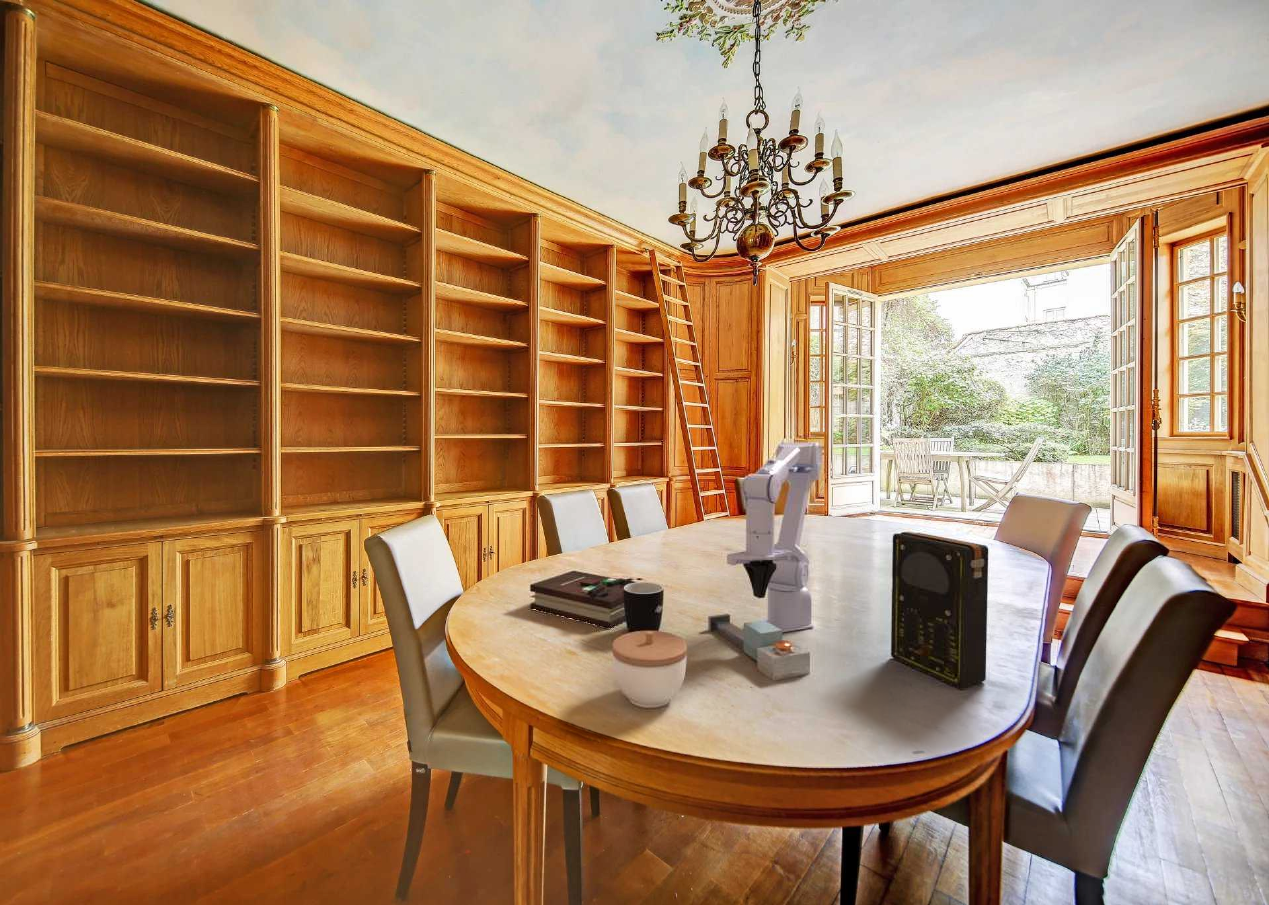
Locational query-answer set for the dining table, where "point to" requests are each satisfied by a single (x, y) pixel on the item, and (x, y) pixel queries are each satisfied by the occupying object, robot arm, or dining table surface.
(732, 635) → the rail
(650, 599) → the mug
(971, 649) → the voltmeter
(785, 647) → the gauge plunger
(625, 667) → the lidded bowl
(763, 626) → the carriage
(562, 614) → the decorative book
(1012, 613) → the dining table surface
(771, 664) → the grey rectangular block
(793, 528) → the robot arm
